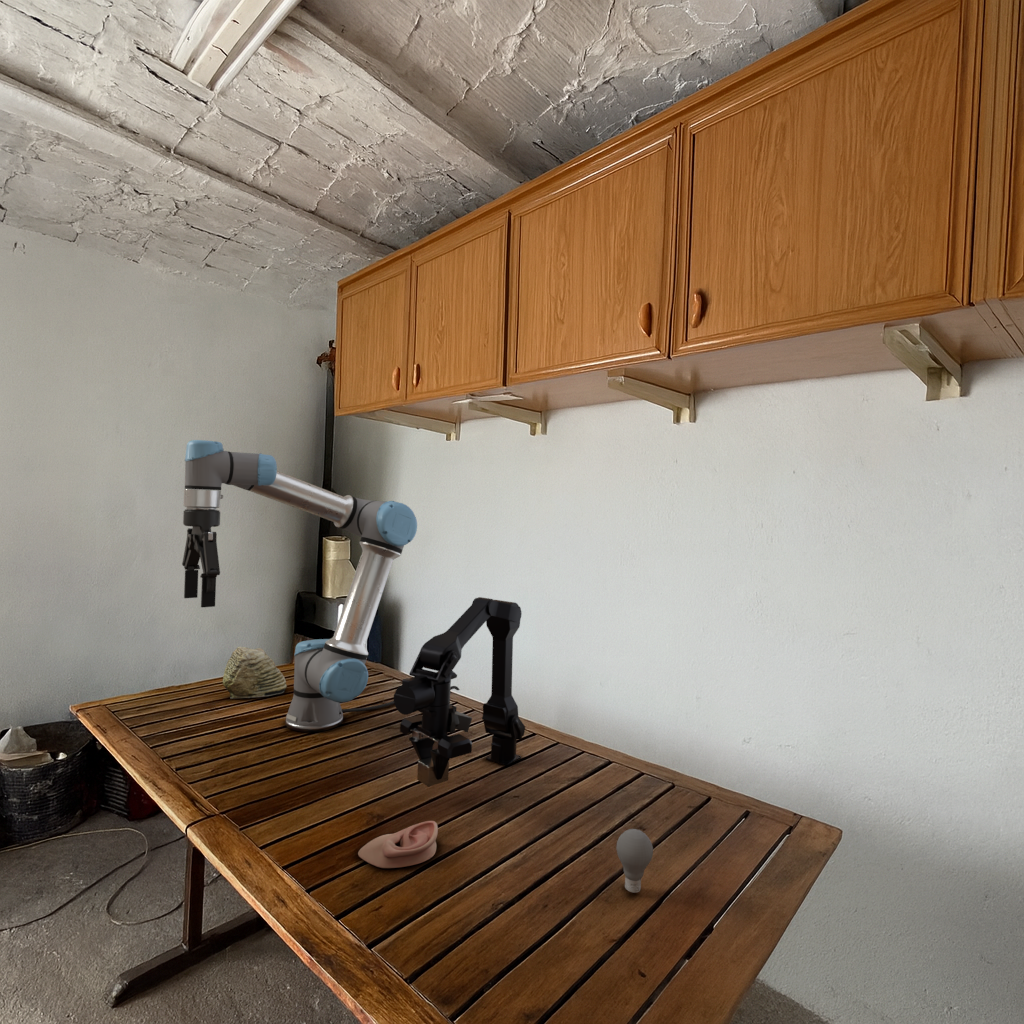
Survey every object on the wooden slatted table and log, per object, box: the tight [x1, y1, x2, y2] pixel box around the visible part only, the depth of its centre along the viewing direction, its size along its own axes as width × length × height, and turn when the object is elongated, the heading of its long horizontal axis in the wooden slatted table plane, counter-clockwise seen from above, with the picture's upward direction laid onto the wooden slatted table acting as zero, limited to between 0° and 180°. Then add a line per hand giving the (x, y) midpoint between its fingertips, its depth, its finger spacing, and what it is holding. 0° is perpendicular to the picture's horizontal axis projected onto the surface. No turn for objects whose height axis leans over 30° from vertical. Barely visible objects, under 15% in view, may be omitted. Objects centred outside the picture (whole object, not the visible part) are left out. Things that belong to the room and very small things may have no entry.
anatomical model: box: [357, 820, 439, 869], centre depth 114 cm, size 13×4×12 cm
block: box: [416, 757, 450, 788], centre depth 134 cm, size 5×4×4 cm
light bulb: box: [615, 828, 654, 894], centre depth 106 cm, size 6×6×10 cm
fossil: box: [222, 646, 288, 699], centre depth 198 cm, size 9×18×15 cm, turn 132°
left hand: (199, 602), depth 144 cm, fingers open, 13 cm apart
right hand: (433, 775), depth 134 cm, fingers closed on block, 4 cm apart
